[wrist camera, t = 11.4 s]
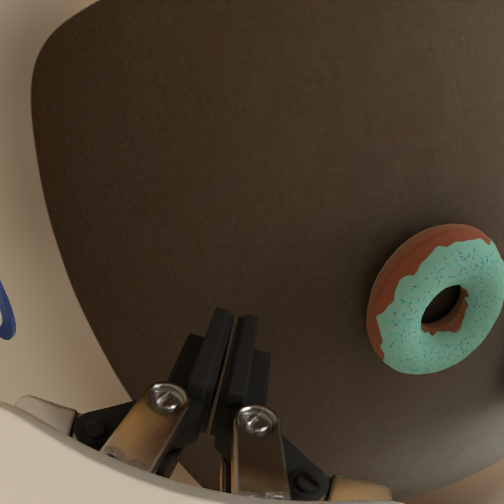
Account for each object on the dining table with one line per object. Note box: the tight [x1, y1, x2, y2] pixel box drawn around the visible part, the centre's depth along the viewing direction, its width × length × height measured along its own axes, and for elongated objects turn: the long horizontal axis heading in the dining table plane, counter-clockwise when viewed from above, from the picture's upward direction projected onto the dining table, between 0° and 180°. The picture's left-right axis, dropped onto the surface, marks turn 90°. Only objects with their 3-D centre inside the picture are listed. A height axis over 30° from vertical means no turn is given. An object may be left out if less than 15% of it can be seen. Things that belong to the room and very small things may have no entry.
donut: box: [366, 223, 504, 374], centre depth 16 cm, size 12×12×4 cm
